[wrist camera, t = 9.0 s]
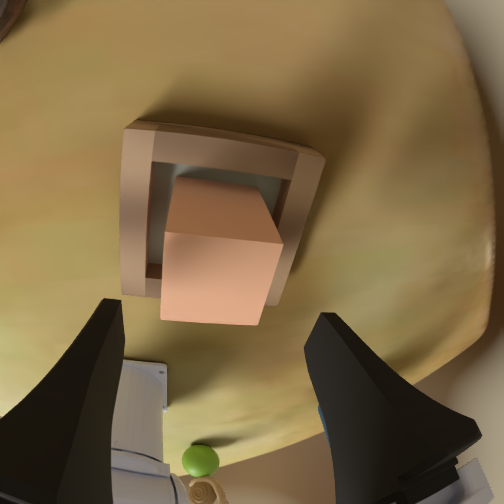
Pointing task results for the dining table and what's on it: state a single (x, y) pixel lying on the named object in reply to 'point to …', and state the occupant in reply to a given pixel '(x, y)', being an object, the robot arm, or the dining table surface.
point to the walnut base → (208, 168)
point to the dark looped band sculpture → (9, 14)
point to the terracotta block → (217, 253)
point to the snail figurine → (203, 475)
